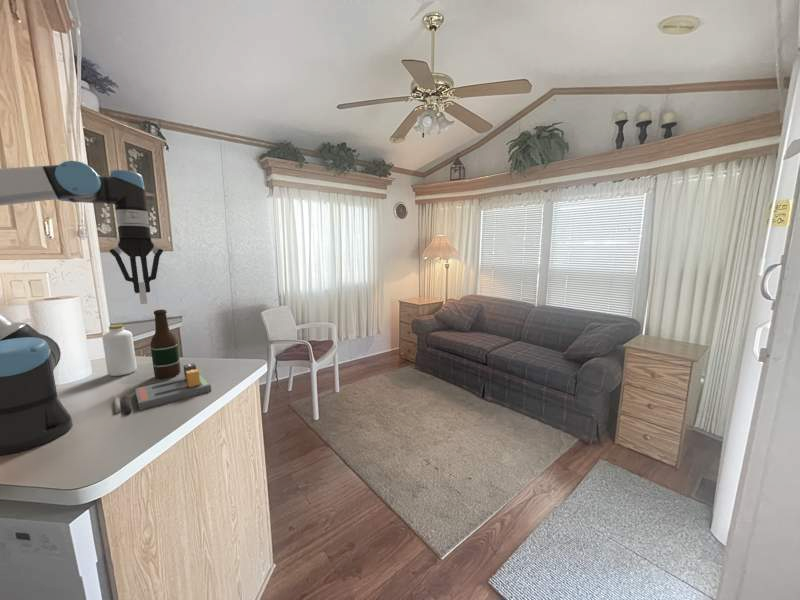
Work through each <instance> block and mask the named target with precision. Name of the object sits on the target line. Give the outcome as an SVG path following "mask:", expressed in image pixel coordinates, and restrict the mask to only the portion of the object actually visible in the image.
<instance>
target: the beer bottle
mask: <svg viewBox="0 0 800 600" xmlns="http://www.w3.org/2000/svg"><path fill="white" fill-rule="evenodd" d="M167 313H168V311H167V310H166V309H156V310H154V311H153V315H154V323H155V324H154V325H155V330H154V331H155V333H154V334H153V336H152V337H151V341H150V351H151V358H152V359H151V361H152V367H153V374H154V377H155V378H156V379H159V380H163V378H165V379H170V377H171V378H173V376H174V377H176V375H177V376H178V375H179V374H180V373H181V363H180V353H179V345H178V339H177V338H176V336H175V335H174V333H172V331H171V330H170V327H169V323H168V316H167Z"/></svg>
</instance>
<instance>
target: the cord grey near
mask: <svg viewBox="0 0 800 600" xmlns="http://www.w3.org/2000/svg"><path fill="white" fill-rule="evenodd" d="M113 401H114V402H113V403H114V412H115V413H117V414H119V413H121V412H122V409H121V399H120V397H118V396H117V397H115V398H114V399H113Z"/></svg>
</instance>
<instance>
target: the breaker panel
mask: <svg viewBox="0 0 800 600" xmlns="http://www.w3.org/2000/svg"><path fill="white" fill-rule="evenodd" d="M199 378H200V385H196V386H192V387H189V386H188V385H187V380H186V379H185V376H184V377H183V376H182V377H178V378H175V379H171V380H166V381H162V382H157V383H154V384H149V385H144V386H140V387H136V388H134V393H135V397H136V402H137V405H138V408H139V409H138V410H139V411H140V410H144V409H147V408H153V407H155V406H161V405H164V404H167V403H172V402H176V401H177V400H182V399H185V398H186V399H187V398H190V397H194V396H197V395H201V394H207V393H209V392H212V386H211V385H212V384H211V383H209V381H208V380H207V379H206V378H205V377H204V376H203V374H202V373H199Z"/></svg>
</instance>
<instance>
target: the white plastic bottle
mask: <svg viewBox="0 0 800 600" xmlns="http://www.w3.org/2000/svg"><path fill="white" fill-rule="evenodd" d="M133 337H134V336H133V333H132V331H130V330H127V329H125V327H124V324H113V325H109V326H108V332H106V333H105V334H104V335H102V345H103V351H104V352H103V353H104V358H105V365H106V370H107V371H106V372H107V374H108V375H109V376H111V377H119V376H126V375H129V374H132V373H134V372H135V371H137V368H138V367H137V359H136V353H135V346H134V344H135V343H134V338H133Z"/></svg>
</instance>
